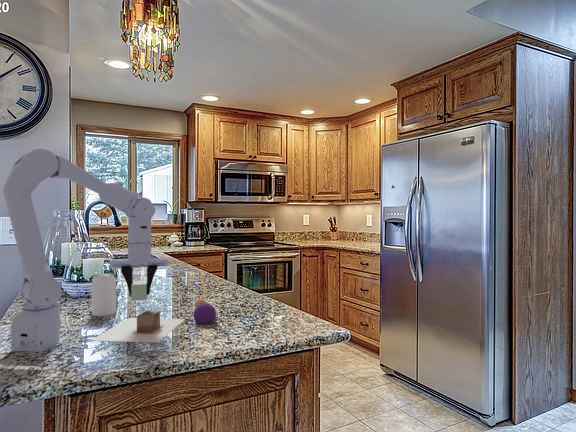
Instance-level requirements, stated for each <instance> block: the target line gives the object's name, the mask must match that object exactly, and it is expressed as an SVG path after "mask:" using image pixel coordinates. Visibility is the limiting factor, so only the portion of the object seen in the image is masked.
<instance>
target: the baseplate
mask: <svg viewBox="0 0 576 432" xmlns="http://www.w3.org/2000/svg"><path fill="white" fill-rule="evenodd" d="M185 321H186V319H185V318H160V327H158V328H157V329H156V330H154V331H153V332H152V333H137V317H129V318H128V319H125V320H123V321H122V322H120V323H118V324H116V325H115V326H113V327H111V328H110V329H108V330H106V331H104V332H103V333H100V334H98V335H97V336H96V337H93V338H92V339H90V340H89V342H90V341H94V342H121V343H122V342H126V343H128V342H131V343H132V342H133V343H158V342H160V341H161V340H162V339H164V337H166V336H167V335H168V334H170V333H171V332H172V331H173V330H174V329H176V328H177V327H178V326H179V325H180V324H182V323H183V322H185Z"/></svg>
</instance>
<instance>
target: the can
mask: <svg viewBox="0 0 576 432" xmlns="http://www.w3.org/2000/svg"><path fill="white" fill-rule="evenodd" d="M116 285H117V281H116V276H115V273H110V272H107V273H105V272H103V273H95V274H93V278H92V279H91V315H92V316H93V317H106V316H112V315H115V314H116V312H117V311H116V310H117V286H116Z"/></svg>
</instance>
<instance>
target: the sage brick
mask: <svg viewBox="0 0 576 432" xmlns="http://www.w3.org/2000/svg"><path fill="white" fill-rule="evenodd" d="M130 299H131V300H130V301H145V300H146V301H147V299H148V295H147V280H133V283H132V285H131V296H130Z"/></svg>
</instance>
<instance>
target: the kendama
mask: <svg viewBox="0 0 576 432" xmlns="http://www.w3.org/2000/svg"><path fill="white" fill-rule="evenodd" d="M216 317H217V311H216V309H215V307H214V306H213V305H212V304H211V303H208V302H207V301H205V300H203V299H200V300H198V301H197V302H196V304H195V308H194V311H193V318H194V321H195V323H196V324H197V325H203V326H204V325H210V324H213V323H214V322H215V320H216Z"/></svg>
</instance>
